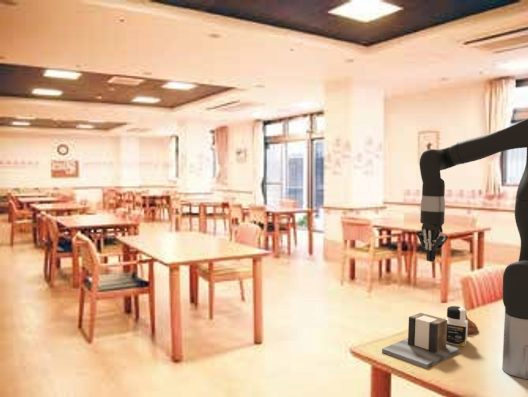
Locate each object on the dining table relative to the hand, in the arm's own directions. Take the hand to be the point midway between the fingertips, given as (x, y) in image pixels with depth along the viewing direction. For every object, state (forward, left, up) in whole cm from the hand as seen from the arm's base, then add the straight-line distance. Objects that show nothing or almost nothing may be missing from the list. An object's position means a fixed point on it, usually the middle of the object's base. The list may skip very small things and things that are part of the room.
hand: (430, 261), depth 158 cm
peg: (-3, +3, -28) cm, 28 cm away
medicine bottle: (0, -12, -29) cm, 32 cm away
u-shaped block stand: (-4, +6, -29) cm, 30 cm away
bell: (+9, -23, -30) cm, 39 cm away
